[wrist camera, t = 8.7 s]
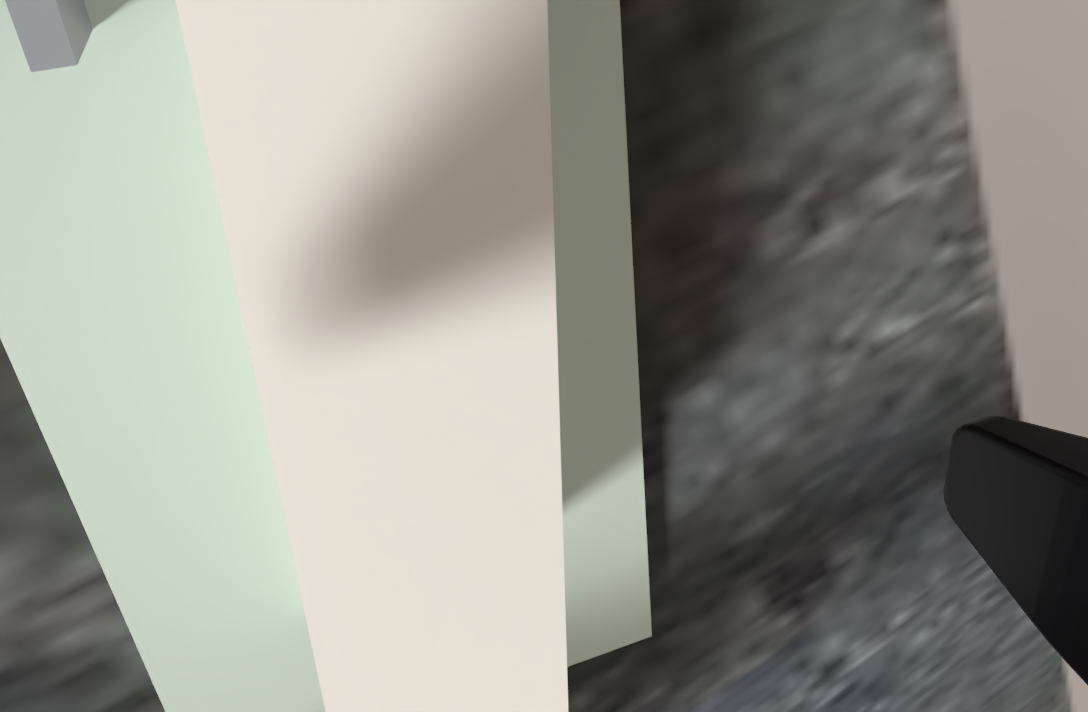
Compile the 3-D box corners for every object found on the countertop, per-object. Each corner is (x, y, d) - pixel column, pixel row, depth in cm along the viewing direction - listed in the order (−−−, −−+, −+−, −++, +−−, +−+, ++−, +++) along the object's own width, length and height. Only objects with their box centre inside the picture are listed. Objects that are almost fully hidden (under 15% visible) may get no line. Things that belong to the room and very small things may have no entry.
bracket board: (634, 609, 24) (711, 727, 21) (202, 763, 21) (210, 928, 18) (553, -706, 12) (700, -923, 9) (-454, -762, 9) (-791, -1111, 6)
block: (469, 571, 20) (571, 801, 15) (307, 616, 19) (360, 876, 14) (384, -326, 13) (533, -459, 8) (109, -334, 12) (72, -491, 7)
